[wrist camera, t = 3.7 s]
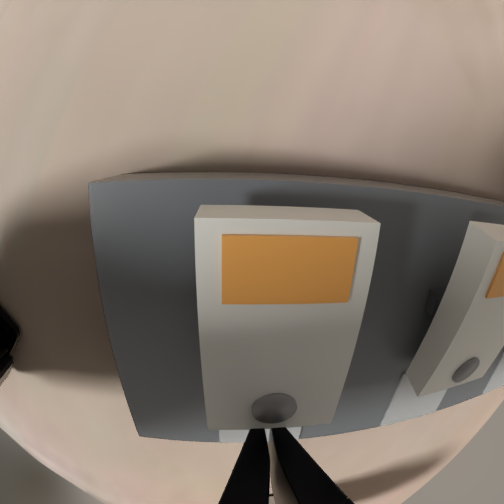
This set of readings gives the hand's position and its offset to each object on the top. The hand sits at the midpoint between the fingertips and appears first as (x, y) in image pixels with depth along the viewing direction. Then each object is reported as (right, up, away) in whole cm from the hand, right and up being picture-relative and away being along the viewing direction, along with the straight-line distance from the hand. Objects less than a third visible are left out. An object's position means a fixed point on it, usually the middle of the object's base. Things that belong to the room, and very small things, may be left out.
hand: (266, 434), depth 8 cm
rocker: (0, +3, -1) cm, 4 cm away
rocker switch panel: (+7, +3, +4) cm, 9 cm away
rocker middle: (+7, +3, 0) cm, 8 cm away
